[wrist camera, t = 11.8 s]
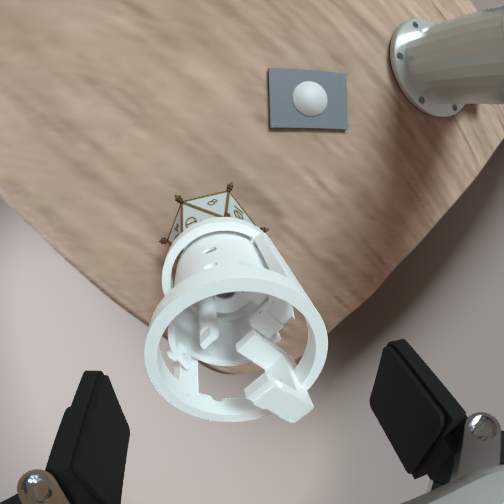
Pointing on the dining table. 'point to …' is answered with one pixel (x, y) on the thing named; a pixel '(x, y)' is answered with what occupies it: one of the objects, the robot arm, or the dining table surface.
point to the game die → (205, 212)
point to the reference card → (307, 99)
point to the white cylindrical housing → (232, 323)
